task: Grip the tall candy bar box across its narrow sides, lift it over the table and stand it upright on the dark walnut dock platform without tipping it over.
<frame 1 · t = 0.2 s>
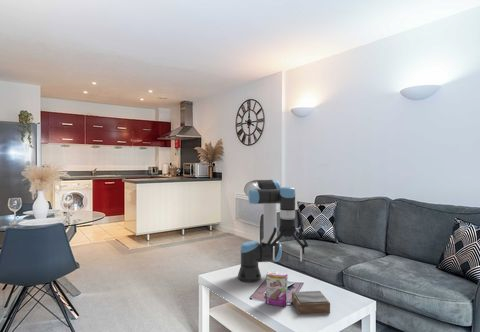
hand: (287, 260, 150), 27 cm above the table, tool pointing down, fingers open, 13 cm apart
dock: (310, 306, 158), on the table
candy bar box: (276, 304, 161), on the table
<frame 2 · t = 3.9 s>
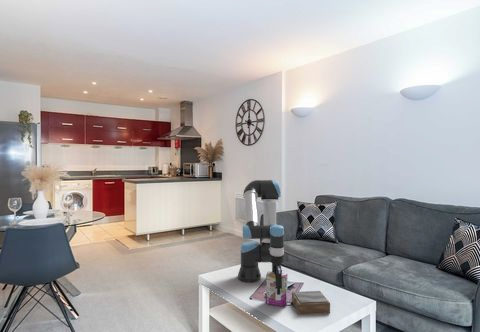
hand: (276, 296, 161), 4 cm above the table, tool pointing down, fingers closed on candy bar box, 6 cm apart
candy bar box: (276, 304, 161), on the table, touching gripper
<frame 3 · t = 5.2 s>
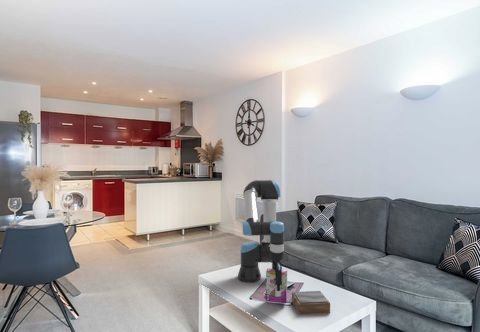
hand: (276, 293, 161), 6 cm above the table, tool pointing down, fingers closed on candy bar box, 6 cm apart
candy bar box: (276, 300, 161), point 2 cm above the table, touching gripper
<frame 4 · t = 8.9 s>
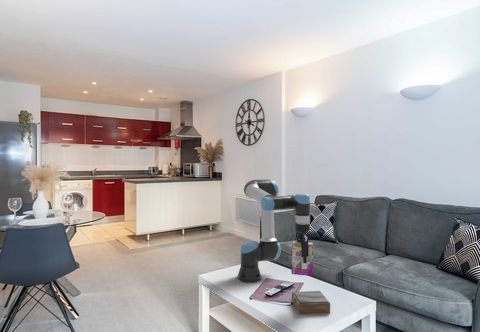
hand: (302, 266, 158), 21 cm above the table, tool pointing down, fingers closed on candy bar box, 6 cm apart
candy bar box: (302, 274, 158), point 17 cm above the table, touching gripper
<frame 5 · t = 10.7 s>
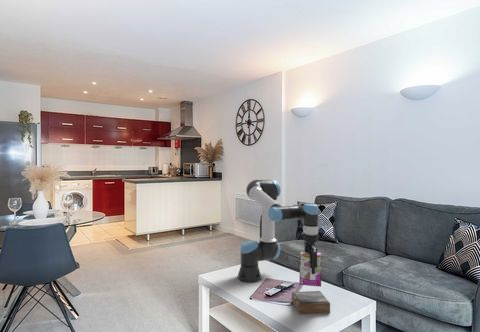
hand: (310, 277, 158), 16 cm above the table, tool pointing down, fingers closed on candy bar box, 6 cm apart
candy bar box: (310, 284, 158), point 12 cm above the table, touching gripper
when the fingers open (10 cm above the table, at t = 12.6 s): candy bar box drops 1 cm, resting on dock.
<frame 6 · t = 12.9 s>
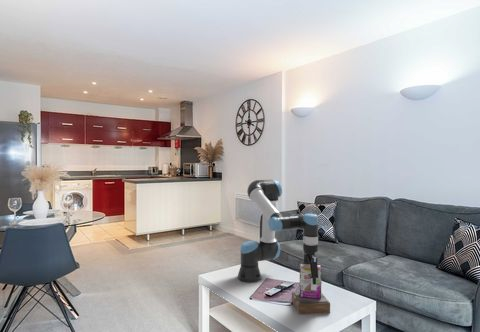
hand: (310, 285, 158), 11 cm above the table, tool pointing down, fingers open, 9 cm apart
candy bar box: (310, 296, 158), point 5 cm above the table, touching dock
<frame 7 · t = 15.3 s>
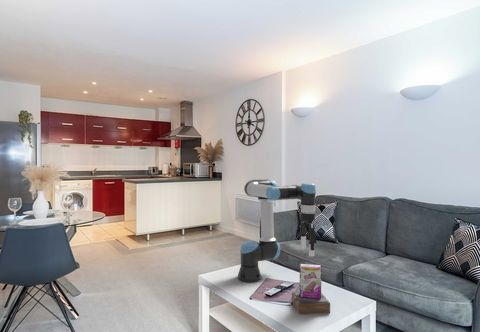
hand: (307, 252, 160), 29 cm above the table, tool pointing down, fingers open, 13 cm apart
nothing on the table moved.
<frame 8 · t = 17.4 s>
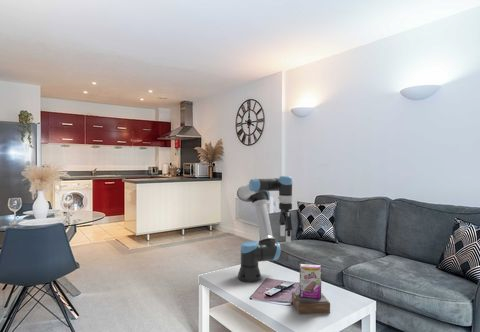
hand: (285, 238, 174), 32 cm above the table, tool pointing down, fingers open, 13 cm apart
nothing on the table moved.
at the end: candy bar box inside the target area on the dock (0.1 cm from its centre), point 5.3 cm above the dock's base; candy bar box tilted 0°; the gripper is holding nothing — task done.
